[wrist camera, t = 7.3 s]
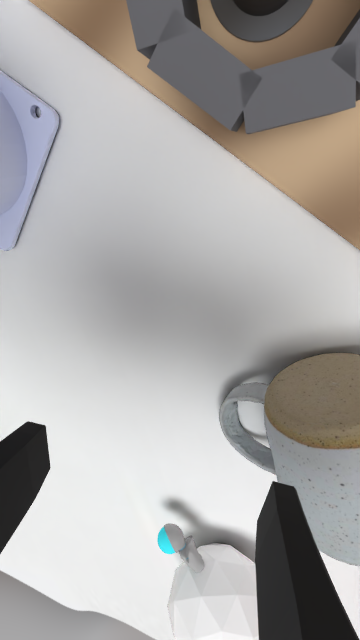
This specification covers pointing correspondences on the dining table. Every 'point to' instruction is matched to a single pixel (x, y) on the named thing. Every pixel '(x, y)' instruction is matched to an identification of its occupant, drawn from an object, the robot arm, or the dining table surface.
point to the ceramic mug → (311, 443)
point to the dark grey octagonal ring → (244, 70)
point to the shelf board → (255, 52)
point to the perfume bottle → (210, 590)
